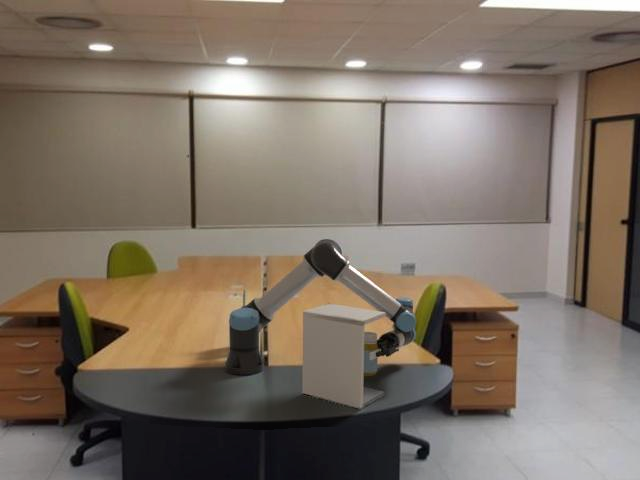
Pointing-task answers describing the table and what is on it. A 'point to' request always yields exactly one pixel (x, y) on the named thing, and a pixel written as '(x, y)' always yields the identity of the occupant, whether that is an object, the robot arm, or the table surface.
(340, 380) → the shelf unit
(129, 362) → the table surface
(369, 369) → the bottle
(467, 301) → the table surface
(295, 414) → the table surface
